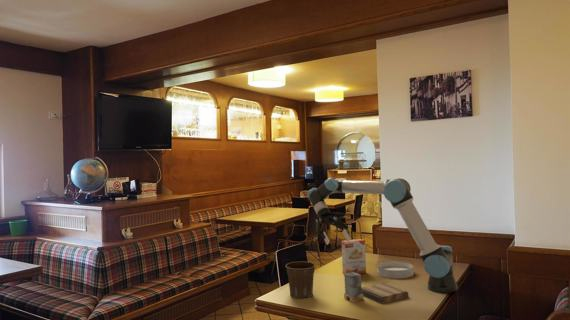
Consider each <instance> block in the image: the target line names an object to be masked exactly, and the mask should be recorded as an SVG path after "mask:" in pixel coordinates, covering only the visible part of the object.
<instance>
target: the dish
mask: <svg viewBox="0 0 570 320" xmlns="http://www.w3.org/2000/svg"><path fill="white" fill-rule="evenodd" d="M376 268H377V269H376V271H377V273H376V274H377V275H378V276H380V277H383V278H388V279H407V278H410V277H413V276H414V274H415V273H414V272H415V271H414V265H413V264H411V263H408V262H405V261H383V262H380V263H378V264H377V265H376Z"/></svg>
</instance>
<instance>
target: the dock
mask: <svg viewBox="0 0 570 320" xmlns="http://www.w3.org/2000/svg"><path fill="white" fill-rule="evenodd" d="M361 288H362V294H363V297H366V298H368V299H371V300H372V301H375V302H377V303H378V304H379V303H380V304H385V303H386V304H387V303H388V302H393V301H398V300H402V299H405V298H409V292H408V290H404V289H402V288H399V287H396V286H393V285H391V284H388V283H385V282H381V283H376V284H371V285H367V286H361Z"/></svg>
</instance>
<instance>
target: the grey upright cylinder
mask: <svg viewBox="0 0 570 320" xmlns="http://www.w3.org/2000/svg"><path fill="white" fill-rule="evenodd" d="M343 276H344V293H343V299H344V300H349V301H350V302H351V303H355V302H358V301H359V302H360V301H363V300H364V296H363V294H362V274H361V273H359V274H358V273H355V272H352V273H347V274H344V273H343Z"/></svg>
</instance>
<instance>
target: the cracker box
mask: <svg viewBox="0 0 570 320" xmlns="http://www.w3.org/2000/svg"><path fill="white" fill-rule="evenodd" d="M341 260H342V273H343V275H344V274H347V273H352V272H355V273H358V274H366V273H367V263H366V262H367V258H366V240H365V239H363V238H357V239H350V240H349V241H347V240H341Z"/></svg>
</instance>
